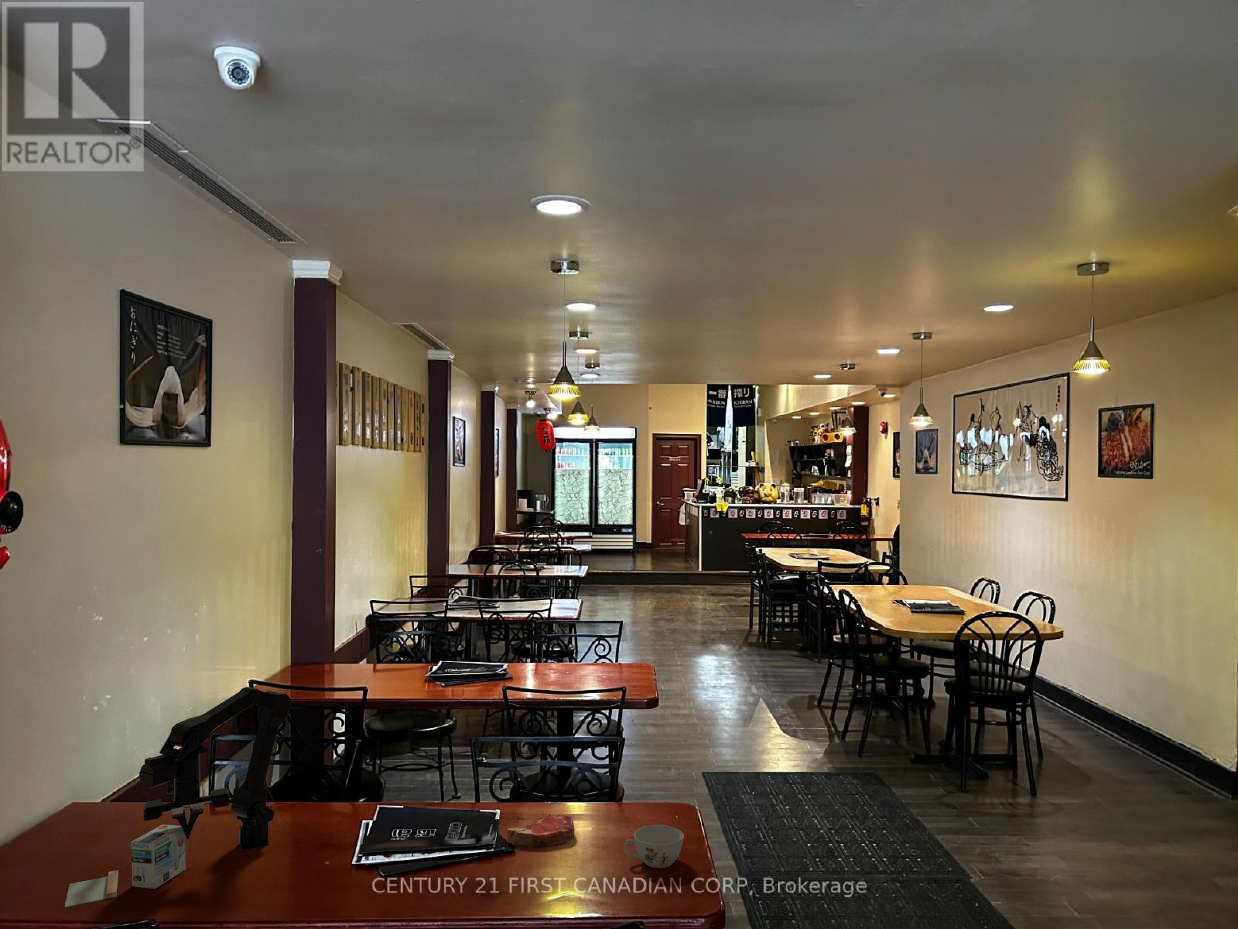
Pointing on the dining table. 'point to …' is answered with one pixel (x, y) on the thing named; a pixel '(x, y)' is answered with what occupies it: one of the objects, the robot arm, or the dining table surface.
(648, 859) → the teacup
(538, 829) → the steak
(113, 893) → the gray and beige tray
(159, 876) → the light bulb box
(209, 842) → the dining table surface
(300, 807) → the dining table surface
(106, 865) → the dining table surface
